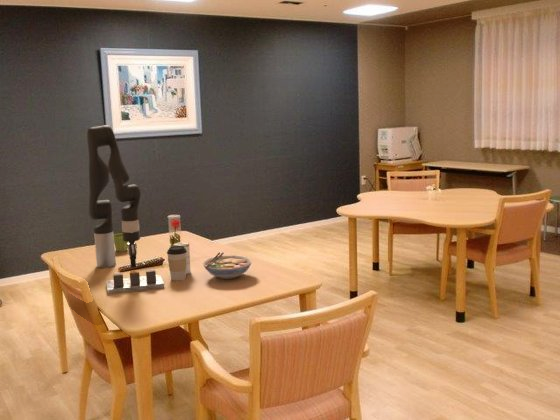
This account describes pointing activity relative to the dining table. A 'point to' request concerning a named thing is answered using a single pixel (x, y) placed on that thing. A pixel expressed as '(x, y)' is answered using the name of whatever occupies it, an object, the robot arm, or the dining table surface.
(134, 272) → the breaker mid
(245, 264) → the ramen bowl
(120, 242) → the plant pot
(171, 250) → the coffee cup
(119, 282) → the block
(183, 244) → the syrup box
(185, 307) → the dining table surface
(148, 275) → the block
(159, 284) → the panel
